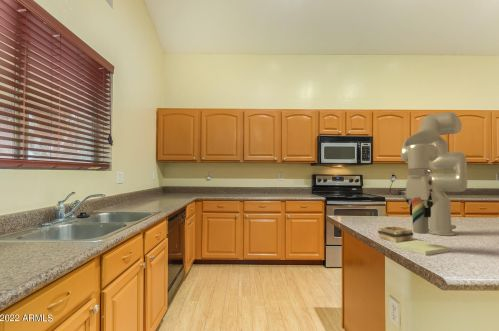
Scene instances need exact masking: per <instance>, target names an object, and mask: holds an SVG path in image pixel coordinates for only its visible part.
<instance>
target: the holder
mask: <svg viewBox="0 0 499 331" xmlns="http://www.w3.org/2000/svg"><path fill="white" fill-rule="evenodd" d="M377 233H378V238H379V239H382V240H386V241H389V242H392V243H393V242H394V243H399V242H407V241H413V236H414V232H413V229H409V228H406V227H400V226H384V227H383V226H381V227H378V230H377Z"/></svg>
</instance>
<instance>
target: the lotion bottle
mask: <svg viewBox="0 0 499 331" xmlns="http://www.w3.org/2000/svg"><path fill="white" fill-rule="evenodd" d="M427 203H428V202H427ZM424 208H425V205H424V202H423V200H421V198H420V197H417V196H412V215H411V216H412V218H411V220H412V233H413V234H414V233H415V234H420V235H426V234H430V233H429V229H430V227H429V217H424Z"/></svg>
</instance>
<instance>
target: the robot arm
mask: <svg viewBox="0 0 499 331" xmlns="http://www.w3.org/2000/svg"><path fill="white" fill-rule="evenodd" d="M462 126H463V124H462V121H461V118H460V117H459V116H458V114H456V113H455V112H451V111H450V112H448V111H447V112H439V113H434V114H428V115H426V116H424V117H423V118H422V120H421V122H420V126H419V129H418V131H416V132H415V133H413V134H411V136H408V137H407V138H405V140H404V141H403V143H402V146H401V149H400V158H401V160H402V161H403V162H405V163H407V164H408V165H407V168H408V176H406V178H407V179H406V184H405V194H404V195H403V196H402V199H403V200H404V201H405V202H406V203H407V206H409V214H410V216H412V196H417V197H420V198H421V200H423V202H424V205H425V208H424V217H428V221H429V233H428V234H430V235H431V234H432V235H434V236H435V235H437V236H455V235H456V231H453V230H454V229H457V225H456V224H452V213H451V212H452V208H451V206H452V204H451V198H450V197H449V196H448V195H447V193H445V192H454V193H456V192H457V193H459V192H460V193H461V192H465V191H466V190H467V189H468V164H467V157H466V155H465V153H463V152H461V151H450V152H449V143H448V142H447V140H446V139H445V138H443V137H442V136H443V135H456V134H458V133H460V132H461V130H462ZM430 169H431V170H430ZM433 171H440V172H435V173H432V172H433ZM441 171H444V172H441ZM445 171H450V172H445ZM451 171H453V172H451ZM427 202H428V203H427Z"/></svg>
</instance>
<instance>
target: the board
mask: <svg viewBox="0 0 499 331" xmlns="http://www.w3.org/2000/svg"><path fill="white" fill-rule="evenodd" d="M394 247H395V248H399V249H402V250H405V251H409V252H412V253H413V252H414V253H416V254H419V255H423V256H429V255H430V256H431V255H436V254H442V253H443V254H444V253H448V252H449V253H450V252H451V248H450V247H449V246H445V245H442V244H441V245H440V244H436V243H431V242H427V241H423V240H420V239H415V240H411V241H404V242H394Z"/></svg>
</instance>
